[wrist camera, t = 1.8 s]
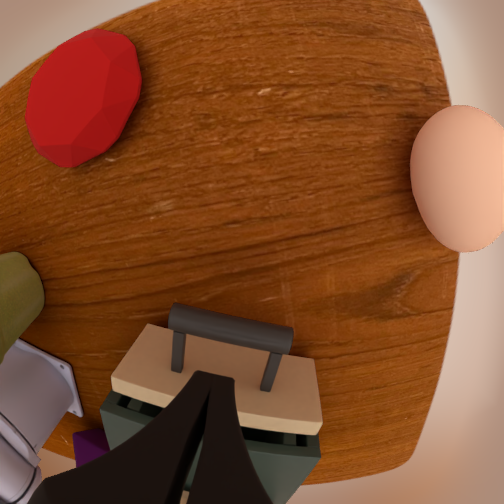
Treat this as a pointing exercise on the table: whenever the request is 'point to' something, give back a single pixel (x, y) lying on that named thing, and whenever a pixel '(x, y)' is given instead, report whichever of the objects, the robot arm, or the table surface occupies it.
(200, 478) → the robot arm
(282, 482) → the cabinet
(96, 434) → the perfume bottle
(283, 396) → the drawer
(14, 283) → the plant pot
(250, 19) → the table surface
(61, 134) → the gemstone
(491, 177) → the egg
